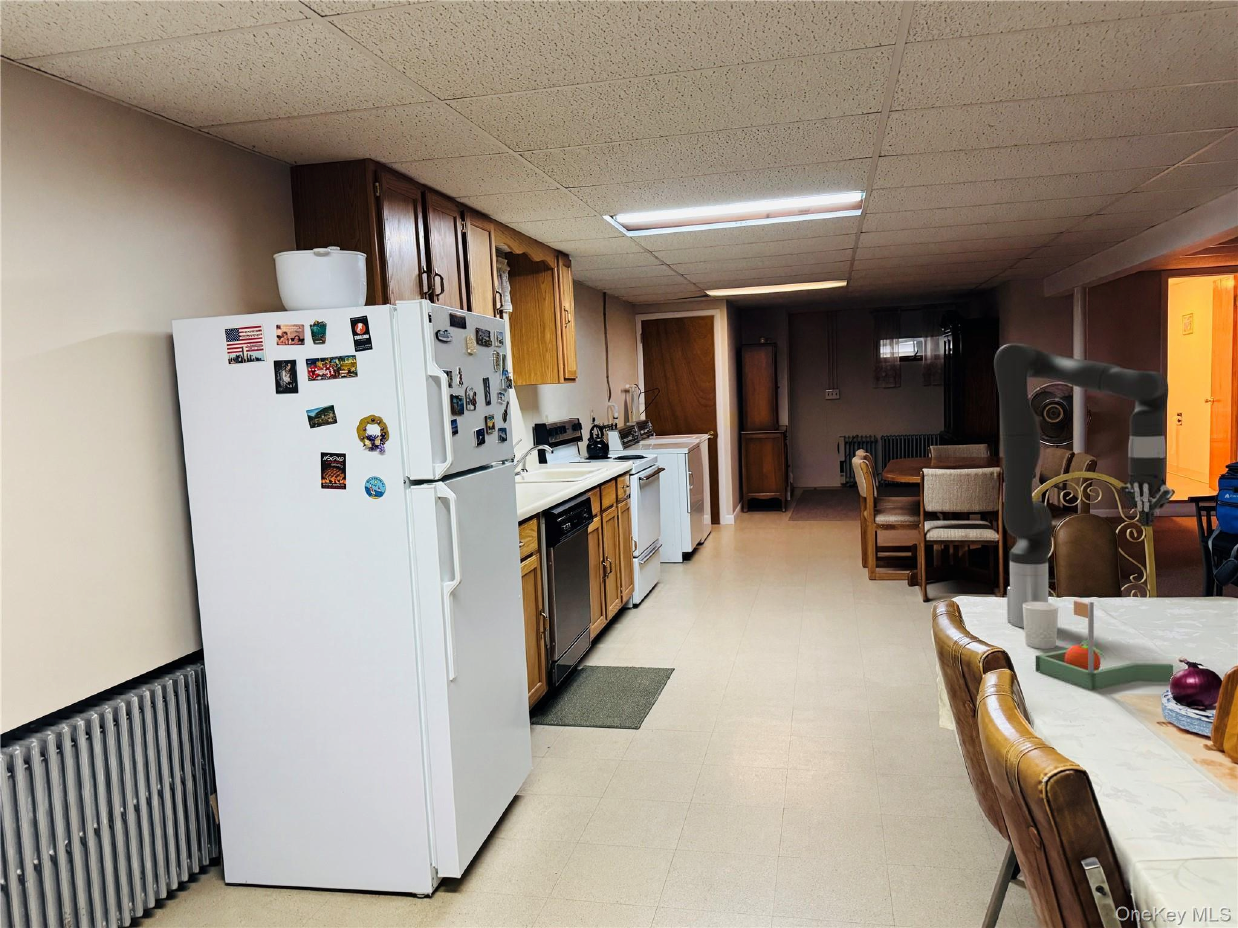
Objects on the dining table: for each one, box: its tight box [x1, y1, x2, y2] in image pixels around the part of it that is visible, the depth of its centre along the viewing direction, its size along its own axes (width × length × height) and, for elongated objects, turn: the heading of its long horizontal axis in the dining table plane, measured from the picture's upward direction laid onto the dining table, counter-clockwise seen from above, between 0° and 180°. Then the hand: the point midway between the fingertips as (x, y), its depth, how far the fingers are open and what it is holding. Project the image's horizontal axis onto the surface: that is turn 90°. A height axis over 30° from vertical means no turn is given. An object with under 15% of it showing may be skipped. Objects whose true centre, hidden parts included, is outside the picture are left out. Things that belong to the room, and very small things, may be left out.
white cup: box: [1023, 602, 1059, 650], centre depth 207 cm, size 8×8×10 cm
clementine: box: [1065, 643, 1106, 671], centre depth 183 cm, size 8×7×7 cm
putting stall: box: [1035, 600, 1174, 691], centre depth 185 cm, size 22×20×18 cm
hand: (1146, 526), depth 203 cm, fingers closed
